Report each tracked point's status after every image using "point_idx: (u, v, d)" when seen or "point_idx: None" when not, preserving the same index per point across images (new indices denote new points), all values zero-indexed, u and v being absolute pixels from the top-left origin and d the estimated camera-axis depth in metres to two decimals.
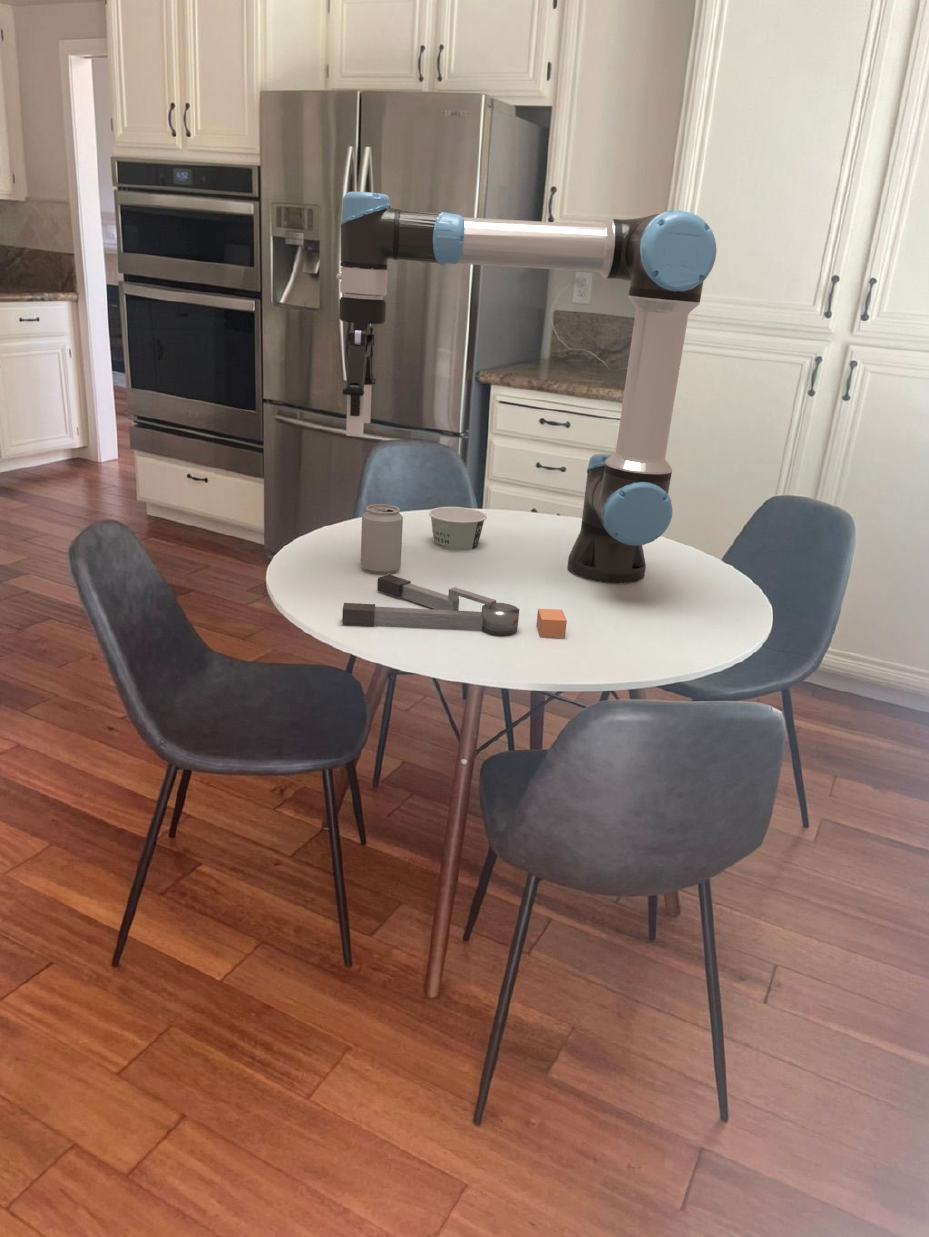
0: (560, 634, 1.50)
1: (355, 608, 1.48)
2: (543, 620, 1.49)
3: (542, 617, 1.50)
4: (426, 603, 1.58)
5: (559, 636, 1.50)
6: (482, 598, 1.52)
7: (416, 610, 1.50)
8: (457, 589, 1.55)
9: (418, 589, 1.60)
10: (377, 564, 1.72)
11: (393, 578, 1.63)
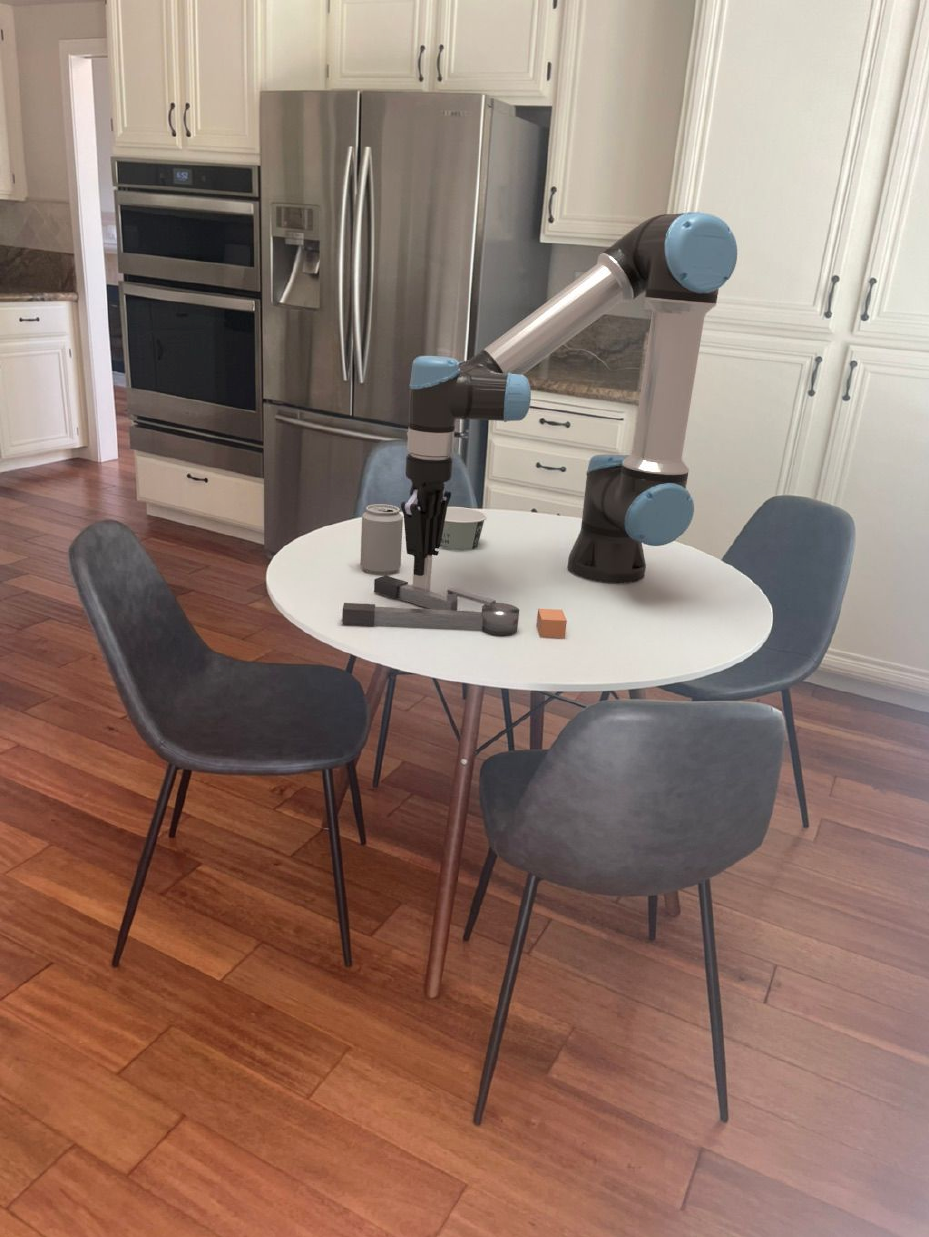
0: (560, 634, 1.50)
1: (355, 608, 1.48)
2: (543, 620, 1.49)
3: (542, 617, 1.50)
4: (424, 604, 1.58)
5: (559, 636, 1.50)
6: (482, 598, 1.52)
7: (416, 610, 1.50)
8: (456, 589, 1.55)
9: (416, 590, 1.59)
10: (377, 564, 1.72)
11: (389, 579, 1.63)
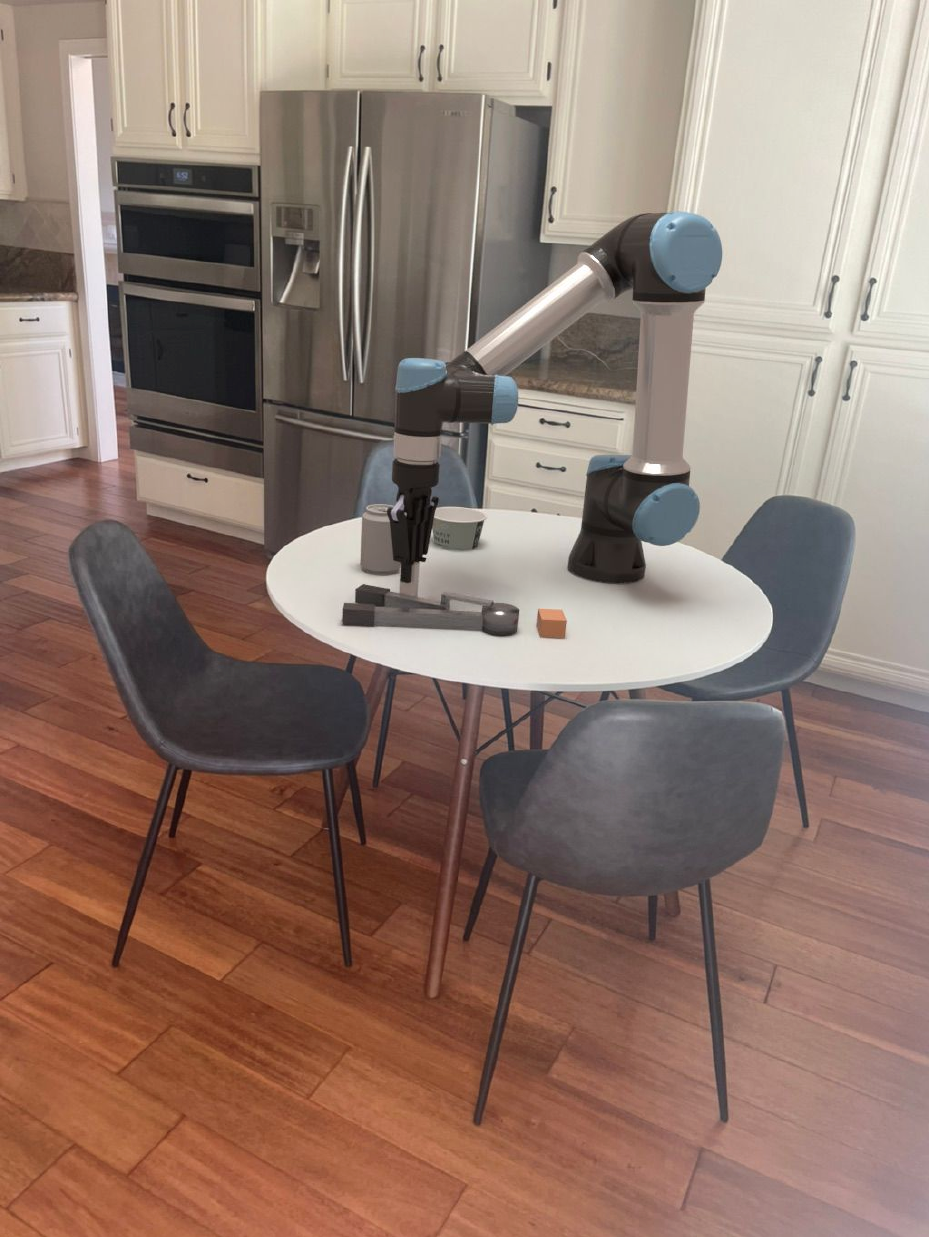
0: (560, 634, 1.50)
1: (355, 608, 1.48)
2: (543, 620, 1.49)
3: (542, 617, 1.50)
4: None
5: (559, 636, 1.50)
6: (480, 600, 1.51)
7: (416, 610, 1.50)
8: (449, 593, 1.53)
9: (403, 597, 1.55)
10: (377, 564, 1.72)
11: (371, 588, 1.58)
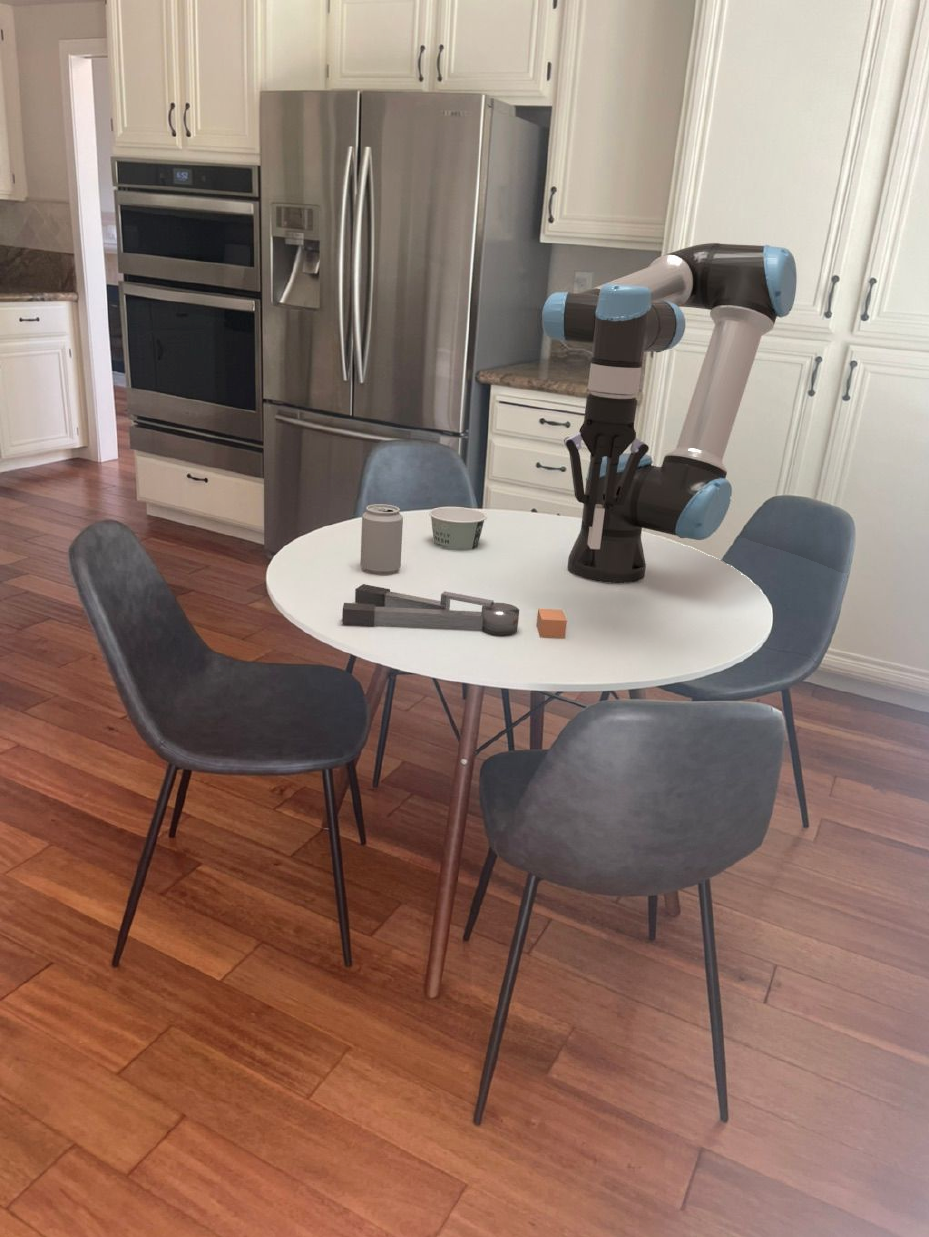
0: (560, 634, 1.50)
1: (355, 608, 1.48)
2: (543, 620, 1.49)
3: (542, 617, 1.50)
4: None
5: (559, 636, 1.50)
6: (480, 600, 1.51)
7: (416, 610, 1.50)
8: (449, 593, 1.53)
9: (403, 597, 1.55)
10: (377, 564, 1.72)
11: (371, 588, 1.58)
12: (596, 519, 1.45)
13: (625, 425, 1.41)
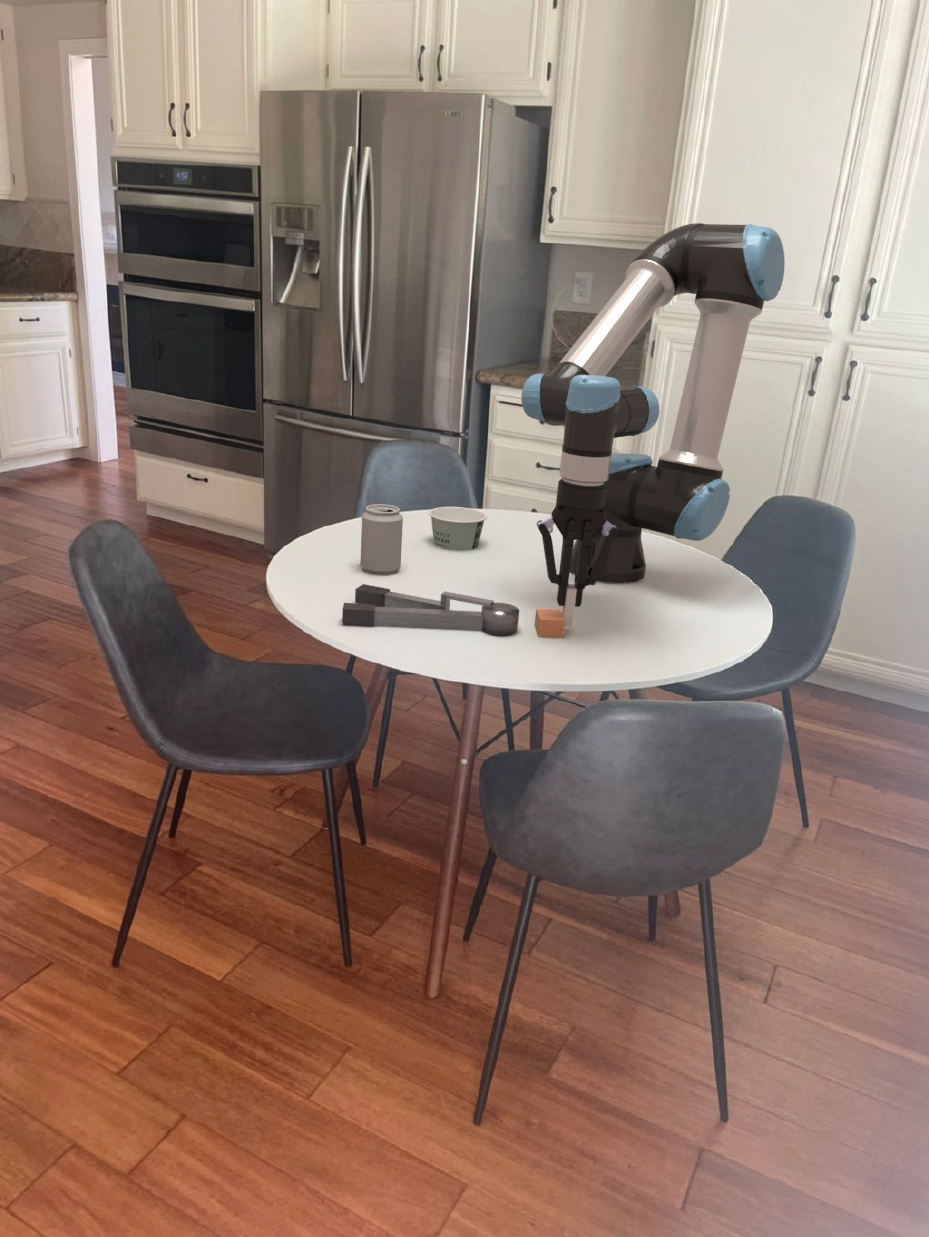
0: (558, 634, 1.50)
1: (355, 608, 1.48)
2: (541, 620, 1.49)
3: (540, 617, 1.50)
4: None
5: (557, 636, 1.50)
6: (480, 600, 1.51)
7: (416, 610, 1.50)
8: (449, 593, 1.53)
9: (403, 597, 1.55)
10: (377, 564, 1.72)
11: (371, 588, 1.58)
12: (568, 599, 1.49)
13: (596, 510, 1.44)
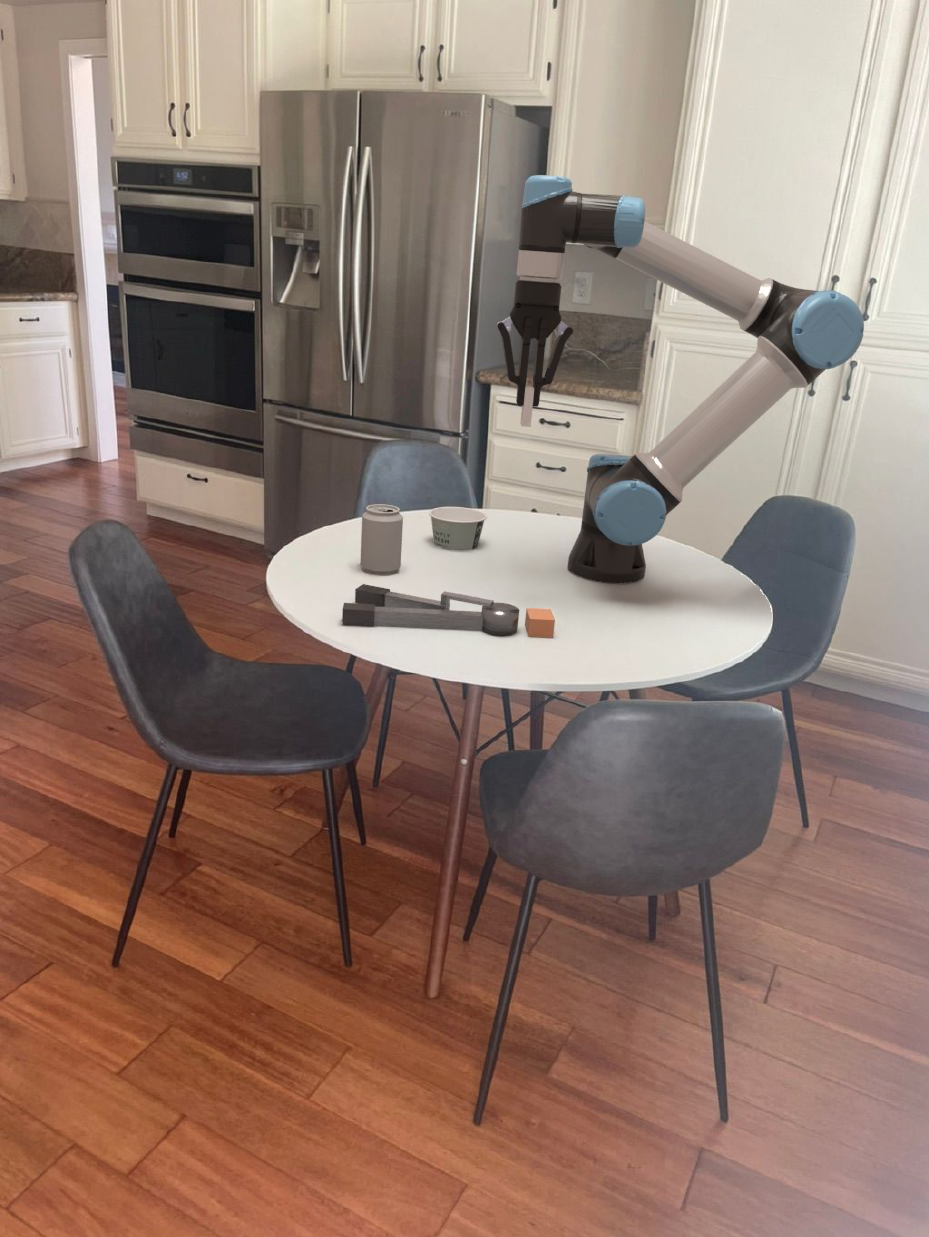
0: (548, 633, 1.50)
1: (355, 608, 1.48)
2: (531, 619, 1.49)
3: (530, 616, 1.49)
4: None
5: (547, 635, 1.50)
6: (480, 600, 1.51)
7: (416, 610, 1.50)
8: (449, 593, 1.53)
9: (403, 597, 1.55)
10: (377, 564, 1.72)
11: (371, 588, 1.58)
12: (526, 398, 1.59)
13: (551, 308, 1.54)
